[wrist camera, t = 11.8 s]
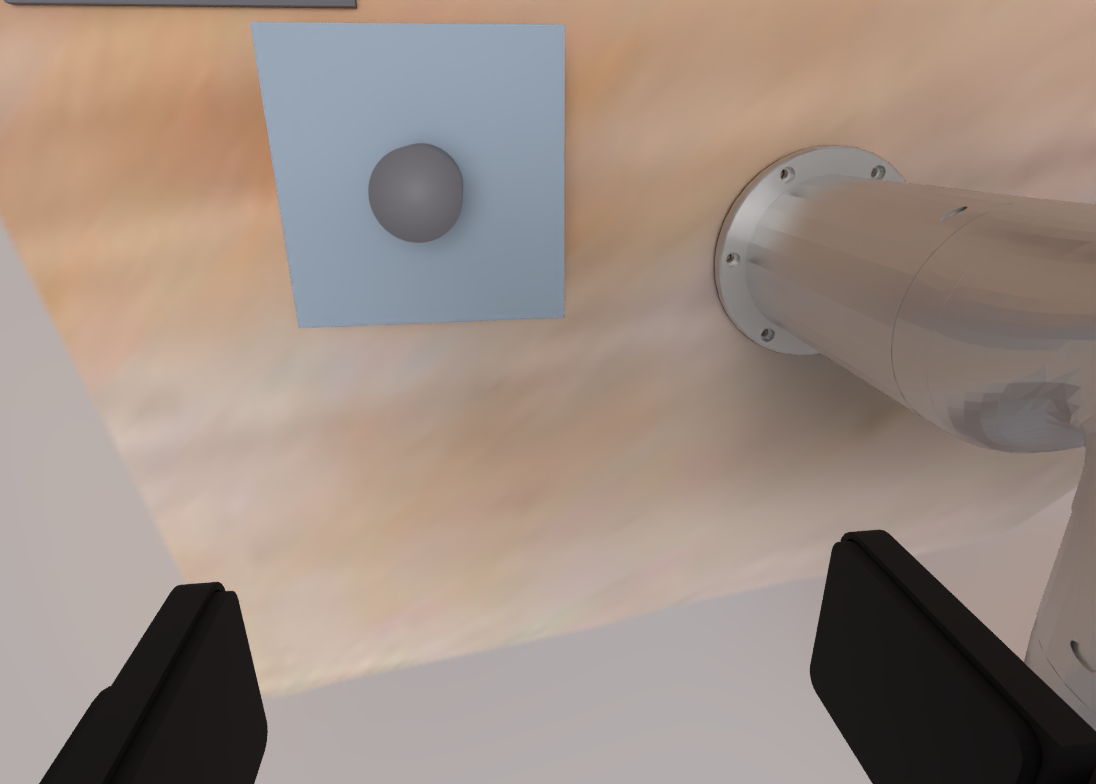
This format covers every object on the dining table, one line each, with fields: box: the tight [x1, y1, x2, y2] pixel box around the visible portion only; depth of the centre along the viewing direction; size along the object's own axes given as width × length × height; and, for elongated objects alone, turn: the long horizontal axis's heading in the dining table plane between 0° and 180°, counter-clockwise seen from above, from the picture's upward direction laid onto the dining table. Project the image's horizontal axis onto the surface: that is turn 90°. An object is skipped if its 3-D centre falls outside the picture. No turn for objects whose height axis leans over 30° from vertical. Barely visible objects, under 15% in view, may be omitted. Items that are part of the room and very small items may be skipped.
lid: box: [250, 22, 565, 328], centre depth 28 cm, size 13×13×6 cm
